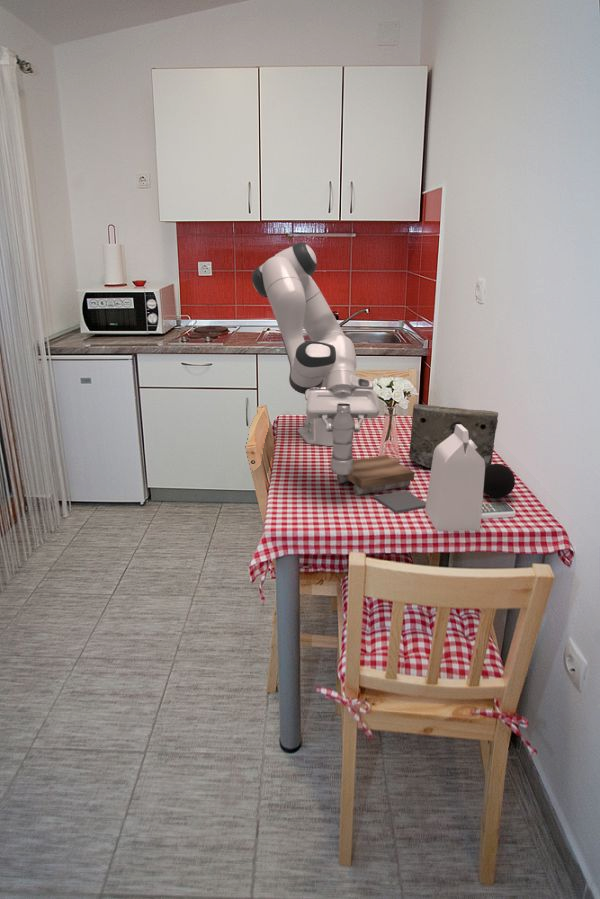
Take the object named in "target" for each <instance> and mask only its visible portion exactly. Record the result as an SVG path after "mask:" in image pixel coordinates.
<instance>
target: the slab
mask: <svg viewBox="0 0 600 899" xmlns="http://www.w3.org/2000/svg"><path fill="white" fill-rule="evenodd" d="M353 460H354V468H353V471H352V473H351V474H348V475H336V480H337V483H338V484H342V483H349V482H351V483H352V484H353V487H352V488H353V489H352V491H353V493H354V495H355V496H359V495H367V494H370V493H371V494H372V493H377V492H383V491H388V490H394V489H400V488H404V487H410V485H411V481H414V479H415V471H413V470H412V469H410V468H408V467H407V466H405V465H402V463H400V462H398V461H396V460H394V459H393V458H391V457H389V456H387V455H385V454H384V455H376V456H371V457H364V458H357V459H353Z"/></svg>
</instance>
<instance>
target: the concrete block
mask: <svg viewBox="0 0 600 899" xmlns="http://www.w3.org/2000/svg"><path fill="white" fill-rule="evenodd" d="M498 417H499V412H497V411H493V410H484V409H483V410H482V409H467V408H461V407H447V406H439V405H431V404H419V403H415V404H413V408H412V418H411V427H410V428H411V430H410V443H409V452H408V454H409V455H408V456H409V458H410V460H412V461H414V462H415V463H417V464H419V465H421V466H423V467H426V468H427V469H428V468H430V469H431V467H432V460H433V454H434V450H435V448H436V447H437V446H438V445H439V444H440V443H441V442H443V441H444V440H445V439H447V438H448V437H449V436H451V435H452V434H453V433H454V430H455V427H456V424H461V425H462V426H463V427H464V428H465V429H466V430H467V431H468V436H469V440H470V439H471V440H472V441H473V442H474V444H475V445H476V446H477V448H476V449H475V450H476V451H477V453H478V454H479V455H480V456H481V457H482V458H483V459H484V462H485V468H486V467H487V466H489V465H491V464H492V462H493V456H494V448H495V438H496V431H497V428H498V420H499V419H498Z"/></svg>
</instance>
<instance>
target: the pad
mask: <svg viewBox="0 0 600 899" xmlns="http://www.w3.org/2000/svg"><path fill="white" fill-rule="evenodd" d="M373 499H374V500H375V501H377V502H378V503H379V504H381V505H382V506H384V507H385V508H387V509H389V510H390V511H391V512H393V513H395V514H400V513H405V512H411V511H415V510H421V509H425V507H426V501H424V500H423V499H420V497H418V496H416V495H414V494H412V493H411V492H410V491H408V490H407V489H406V490H400V491H395V492H390V493H383V494H379V495H374V498H373Z"/></svg>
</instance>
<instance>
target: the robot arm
mask: <svg viewBox="0 0 600 899" xmlns="http://www.w3.org/2000/svg"><path fill="white" fill-rule="evenodd" d="M316 256H317V255H316V254H315V252H314V250H313V249H312V248H311V246H309V245H308V244H307V243H306V242H303V241H300V242H297V243H294V244H292V245H291V246H289V247H287V248H284V249H283V250H281V251H279V252H278V253H275V255H274V256H271V257H270V258H268V259H267V260H266V261H264V263H262V264H261V265H259V266H257V267H256V268H255V269H254V270H253V271H252V274H251V282H252V286H253V287H254V289H255V291H256V292H257V293H258V294H259V295H260V296H261V297H262V298H266V299H268V302H269V304H270V308H271V309H272V312H273V315H274V319H275V320H276V323H277V327H278V329H279V332H280V335H281V338H282V342H283V345H284V346H283V347H284V350H285V352H286V356H287V359H288V362H289V367H290V370H289V377H288V382H289V385H290V386H291V388H292V389H293V390H294V391H295V392H298V393H299V394H302V395H304V399H305V401H306V410H305V411H306V412H305V413H306V416H305V418H304V421H303V422H302V426H303V427H300V428H297V433H298V434H299V435H300V436H301V438H302V439H303V440H304V441H305V442H306V444H308V445H309V444H310V445H318V446H327V447H333V436H332V427H331V422H332V419H333V418H334V416H335V415H336V414H337V412H336V409H337V404H339V403H347V404H350V409H351V411H350V412H349V413H350V415H351V416H352V418H353V420H355V419H357V423H355V427H354V433H355V432H357V433H360V432H361V425H362V424H363V422H364V420H365V419H367V420H368V419H370V420H371V419H377V418H378V416H379V415H380V403H379V398H378V394H377V392H376V390H374V381H372V380H369V379H366V378H362V377H359V376H358V375H357V372H356V370H357V369H356V368H357V354H356V348H355V344H354V343H353V341H352V339H351V338H349V337H348V336H346V335H345V333H344V331H343V329H342V327H341V326H340V323H339V322H338V320H337V319H336V316H335V315H334V313H333V311H332V310H331V307H330V305H329V304H328V302H327V300H326V298H325V297H324V295H323V293H322V291H321V290H320V288H319V287H318V285H317V283H316V281H314V279H313V278H312V277H314V272H316V270H317V267H318V261H317V257H316ZM304 330H305V332H306V334H307V335H308V338H310V340H307V341H305V338H304Z"/></svg>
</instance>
